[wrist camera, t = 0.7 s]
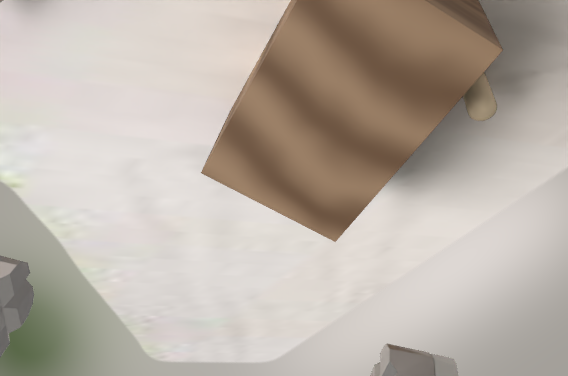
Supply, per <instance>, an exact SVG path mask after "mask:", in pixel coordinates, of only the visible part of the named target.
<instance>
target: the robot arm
mask: <svg viewBox="0 0 568 376" xmlns="http://www.w3.org/2000/svg"><path fill="white" fill-rule="evenodd" d="M29 274H30V270H29V266H28V263H27V262H23V261H19V260H15V259H11V258H7V257H3V256H0V357H1V355H2V354H3V352H4V351H5V350H6V348H7V347H8V345H9V344H10V341H9V333H10V332H12V331H14V330H16V329H18V328H20V327H21V326H22V324H23V323H24V321H25V320H26V318H27V317H28V315H29V312H30V309H31V307H32V304H33V297H34V292H33V286H32V285H31V284H30V283H29V282H28V281H27V280H26V278H27V276H28V275H29ZM370 376H458V371H457V365H456V362H455V360H454V359H452V358H448V357H444V356H439V355H435V354H430V353H428V352H424V351H419V350H414V349H410V348H405V347H400V346H396V345H391V344H386V345H385V346H384V347H383V349H382V351H381V353H380V362H379V363H377V364H375V365H374V368H373V370H372V373H371V375H370Z"/></svg>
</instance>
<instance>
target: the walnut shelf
mask: <svg viewBox="0 0 568 376" xmlns="http://www.w3.org/2000/svg"><path fill="white" fill-rule="evenodd" d="M502 51H503V49H502V47H501V45H500V43H499V41H498V39H497V37H496V35H495V33H494V31H493V29H492V27H491V25H490V23H489V21H488V19H487V17H486V15H485V13H484V11H483V9H482V7H481V5H480V3H479V1H478V0H291V1H290V3H289V5H288V7H287V9H286V11H285V12H284V14H283V16H282V18H281V20H280V21H279V23H278V25H277V27H276V29H275V31H274V32H273V34H272V36H271V38H270V40H269V42H268V43H267V45H266V47H265V49H264V51H263V52H262V54H261V56H260V58H259V60H258V62H257V63H256V65H255V67H254V69H253V71H252V73H251V74H250V76H249V78H248V80H247V82H246V83H245V85H244V87H243V89H242V91H241V93H240V94H239V96H238V98H237V100H236V102H235V103H234V105H233V107H232V109H231V111H230V113H229V115H228V117H227V119H226V121H225V123H224V125H223V127H222V130H221V132H220V134H219V136H218V138H217V140H216V142H215V144H214V146H213V149H212V151H211V153H210V155H209V157H208V159H207V161H206V163H205V166H204V168H203V170H202V172H201V173H202V174H204V175H206V176H208V177H210V178H212V179H214V180H216V181H218V182H220V183H222V184H224V185H225V186H227V187H229V188H231V189H233V190H235V191H237V192H239V193H241V194H243V195H245V196H247V197H249V198H251V199H253V200H255V201H257V202H259V203H261V204H262V205H264V206H266V207H268V208H270V209H272V210H274V211H276V212H278V213H280V214H282V215H284V216H286V217H288V218H290V219H292V220H294V221H296V222H298V223H300V224H301V225H303V226H305V227H307V228H309V229H311V230H313V231H315V232H317V233H319V234H321V235H323V236H325V237H327V238H329V239H331V240H333V241H335V242H336V241H337V239H338V238H339V237H340V236H341V235H342V234H343V232H344V231H345V230H346V229H347V228H348V227H349V226H350V224H351V223H352V222H353V221H354V220H355V219H356V218H357V216H358V215H359V214H360V213H361V212H362V211H363V210H364V208H365V207H366V206H367V205H368V204H369V203H370V202H371V200H372V199H373V198H374V197H375V196H376V195H377V194H378V192H379V191H380V190H381V189H382V188H383V187H384V186H385V184H386V183H387V182H388V181H389V180H390V179H391V178H392V176H393V175H394V174H395V173H396V172H397V171H398V170H399V168H400V167H401V166H402V165H403V164H404V163H405V162H406V160H407V159H408V158H409V157H410V156H411V155H412V154H413V152H414V151H415V150H416V149H417V148H418V147H419V146H420V144H421V143H422V142H423V141H424V140H425V139H426V138H427V136H428V135H429V134H430V133H431V132H432V131H433V130H434V128H435V127H436V126H437V125H438V124H439V123H440V122H441V120H442V119H443V118H444V117H445V116H446V115H447V114H448V112H449V111H450V110H451V109H452V108H453V107H454V106H455V104H456V103H457V102H458V101H459V100H460V99H461V98H462V96H463V95H464V94H465V93H466V92H467V91H468V90H469V88H470V87H471V86H472V85H473V84H474V83H475V82H476V80H477V79H478V78H479V77H480V76H481V75H482V74H483V72H484V71H485V70H486V69H487V68H488V67H489V66H490V64H491V63H492V62H493V61H494V60H495V59H496V57H497V56H498V55H499V54H500V53H501V52H502Z"/></svg>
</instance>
